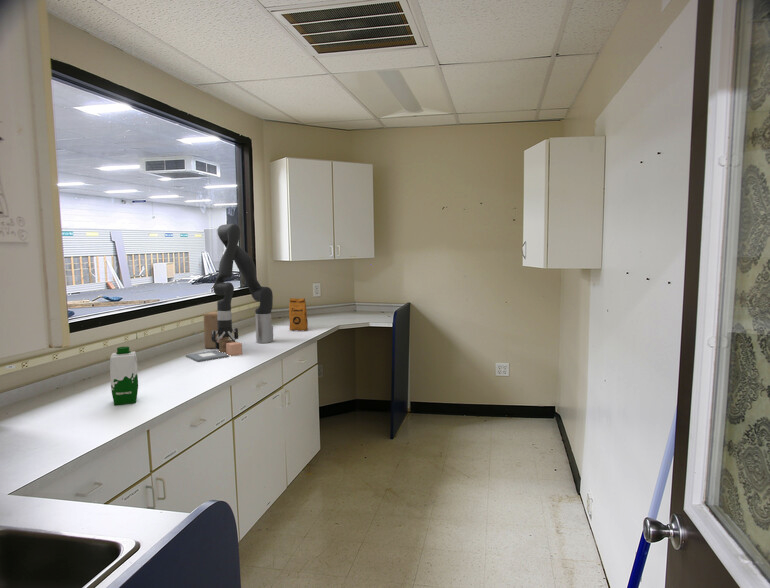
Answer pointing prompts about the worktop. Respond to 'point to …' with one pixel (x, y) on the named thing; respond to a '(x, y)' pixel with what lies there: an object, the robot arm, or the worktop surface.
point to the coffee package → (298, 314)
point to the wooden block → (210, 329)
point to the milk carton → (124, 376)
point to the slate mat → (207, 355)
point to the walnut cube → (223, 345)
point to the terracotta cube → (234, 348)
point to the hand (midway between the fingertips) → (225, 348)
